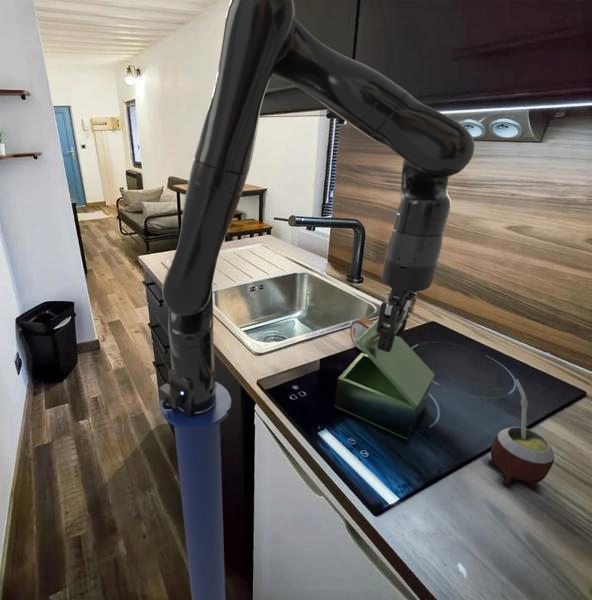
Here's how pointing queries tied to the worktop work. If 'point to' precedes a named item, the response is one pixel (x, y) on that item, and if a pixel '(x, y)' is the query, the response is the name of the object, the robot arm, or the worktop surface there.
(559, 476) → the worktop surface
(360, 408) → the green box
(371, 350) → the lid
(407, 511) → the worktop surface
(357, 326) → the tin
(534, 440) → the mate gourd
